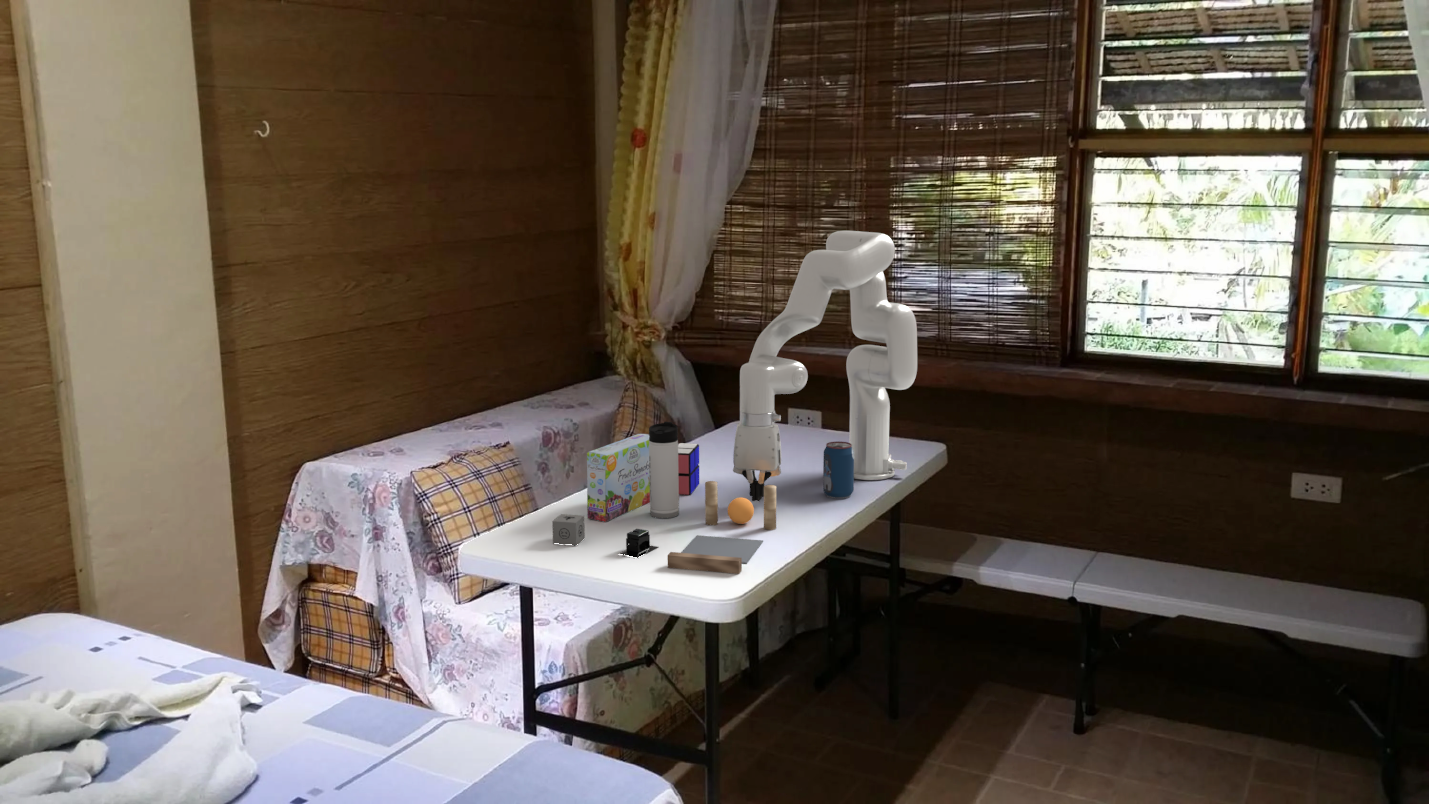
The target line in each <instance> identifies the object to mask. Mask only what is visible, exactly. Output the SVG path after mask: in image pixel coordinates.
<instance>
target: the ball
mask: <svg viewBox="0 0 1429 804" xmlns="http://www.w3.org/2000/svg"><path fill="white" fill-rule="evenodd" d="M754 514H755V508H754V505H753V503H752V501H750V499H748V498H746V497H740V496H739V497H736V498H734V499H732V500H731V501H730V503H729V504H728V506H727V516H728V518H729V519H730V520H731V521H732V522H733V523H735V524H738V525H743V524H747V523H749V522H750V521H751V520H752V518H753V517H754Z"/></svg>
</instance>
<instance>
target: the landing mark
mask: <svg viewBox="0 0 1429 804" xmlns="http://www.w3.org/2000/svg"><path fill="white" fill-rule="evenodd" d="M763 542H764V540H761V539H751V538H750V539H749V538H737V537H727V536H726V537H724V536H712V535H711V536H710V535H700V534H697V535H695V537H694V538H693V539H692V540H691V541H690V542H689V543H688V544H687V545H686V546H685V547H684V549H682V550H681V552H680V553H690V554H702V555H714V556H725V557H737V558H742V564H748V563H749V561H750V560H751V559H752V557H753V556H754V555H755V553H756V552H757V550H758V549H760V546H761V545H762V544H763Z"/></svg>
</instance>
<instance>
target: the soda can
mask: <svg viewBox="0 0 1429 804" xmlns="http://www.w3.org/2000/svg"><path fill="white" fill-rule="evenodd" d="M825 445H826V446H825V448H824V450H823V462H822V463H823V465H822V466H823V471H822V472H823V473H822V475H823V481H822V491H823V493H824V494H825V496H826V497H827V496H828V497H827V498H830V499H836V498H843V499H848V498H850V497H851V496H852V494H853V493H854V484H855V481H854V480H855V479H854V451H853V449H852V447H851V446H852V444H851V443H849V442H848V441H840V440H839V441H829V442H826V444H825ZM847 497H848V498H847Z"/></svg>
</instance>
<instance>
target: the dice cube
mask: <svg viewBox="0 0 1429 804" xmlns="http://www.w3.org/2000/svg"><path fill="white" fill-rule="evenodd" d="M551 522H552V526H551V527H552V544H553V543H559V544H572V545H577V544H578V545H579V543H580V542H581V541H582V540H583V539H584V538H585V539H586V532H585V531H586V529H585V526H586V525H585V515H583V514H581V515H580V514H567V513H566V514H565V513H560V515H558V516H557V517H556V518H554V519H553V520H551ZM585 539H584V540H585ZM584 540H583V541H584ZM583 541H582V542H583ZM582 542H581V543H582ZM581 543H580V544H581ZM578 545H577V546H578Z"/></svg>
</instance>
